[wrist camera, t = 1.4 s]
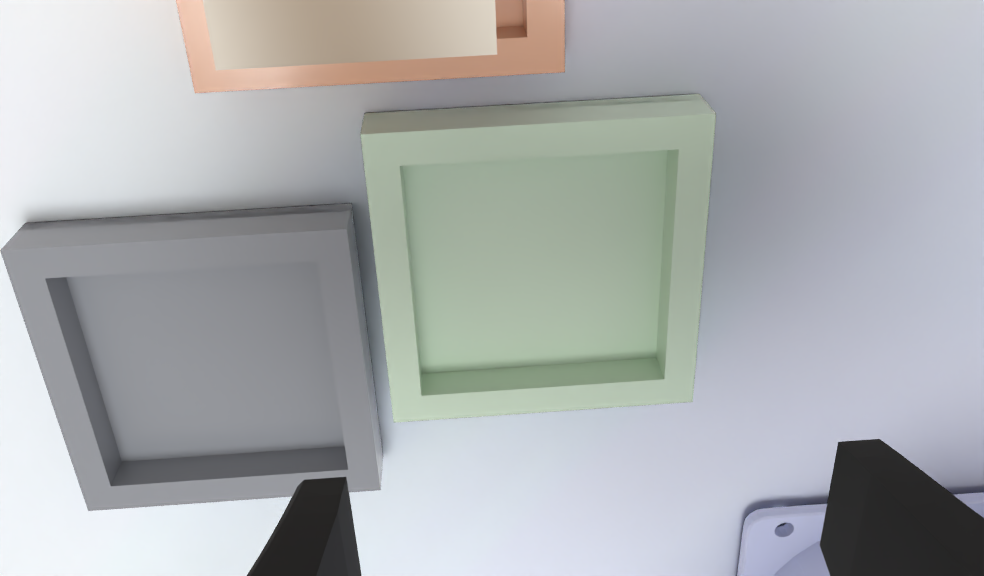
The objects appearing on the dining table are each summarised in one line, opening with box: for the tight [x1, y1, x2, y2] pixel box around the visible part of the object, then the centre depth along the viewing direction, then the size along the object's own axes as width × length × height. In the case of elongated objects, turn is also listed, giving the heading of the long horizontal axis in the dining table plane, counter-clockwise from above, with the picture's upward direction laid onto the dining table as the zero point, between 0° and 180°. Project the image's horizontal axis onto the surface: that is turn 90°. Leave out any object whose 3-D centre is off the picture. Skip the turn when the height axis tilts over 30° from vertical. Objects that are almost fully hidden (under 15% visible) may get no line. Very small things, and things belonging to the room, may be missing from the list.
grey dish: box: [0, 203, 383, 511], centre depth 21 cm, size 7×7×1 cm
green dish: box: [360, 94, 716, 422], centre depth 20 cm, size 7×7×1 cm
